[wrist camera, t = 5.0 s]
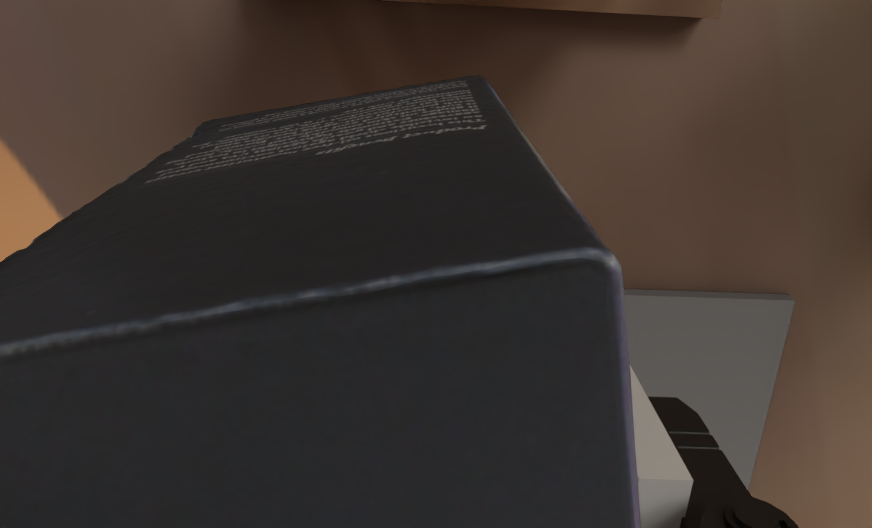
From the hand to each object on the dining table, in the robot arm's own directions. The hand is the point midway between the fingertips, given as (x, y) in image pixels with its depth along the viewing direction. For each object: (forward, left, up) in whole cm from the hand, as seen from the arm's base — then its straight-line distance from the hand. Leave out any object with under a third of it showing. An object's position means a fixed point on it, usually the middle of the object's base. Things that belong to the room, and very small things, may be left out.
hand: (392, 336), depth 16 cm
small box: (0, 0, -1) cm, 1 cm away
